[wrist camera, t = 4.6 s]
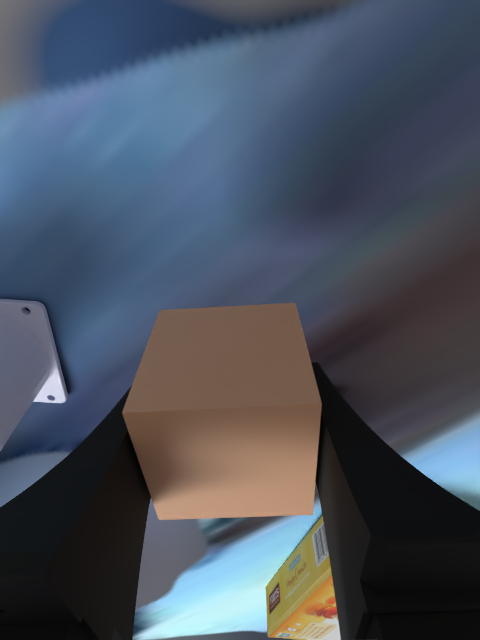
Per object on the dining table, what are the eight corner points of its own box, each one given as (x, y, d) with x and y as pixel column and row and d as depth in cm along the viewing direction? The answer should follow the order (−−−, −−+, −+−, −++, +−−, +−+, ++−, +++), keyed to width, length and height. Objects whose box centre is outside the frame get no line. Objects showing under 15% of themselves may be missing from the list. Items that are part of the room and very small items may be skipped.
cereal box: (343, 561, 28) (639, 601, 31) (329, 492, 32) (588, 534, 36) (265, 644, 38) (492, 665, 42) (263, 583, 43) (467, 608, 47)
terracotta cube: (180, 406, 16) (158, 519, 12) (159, 310, 13) (121, 413, 9) (293, 401, 16) (312, 514, 12) (295, 302, 13) (321, 403, 9)
